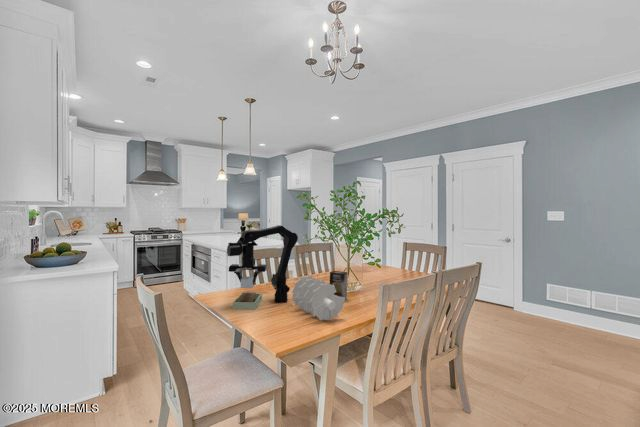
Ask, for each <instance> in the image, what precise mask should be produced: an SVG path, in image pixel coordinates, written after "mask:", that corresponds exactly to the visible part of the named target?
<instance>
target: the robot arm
mask: <svg viewBox="0 0 640 427" xmlns="http://www.w3.org/2000/svg"><path fill="white" fill-rule="evenodd" d="M275 234H277V235H279V236H280V237H283V240H282V243H283V249H282V252H281V256H280V260H279V263H278V268H277V271H276V272H275V273H272V276H271V279H270V282H271V285H272V286H271V287H273V288H274V290H275V293H274V302H275V303H280V304H281V303H282V304H283V303H287V304H288V301H289V299H288V293H289V292H290V289H291V287H289V286H288V285H287V274H286V273H287V270H288V267H289V266H288V265H289V261H290V258H291V254H292V250H293V249H294V247H295V246H296V245H297V242H298V240H299V239H298V238H299V237H298V234H297V233H296V232H292V231H291V230H289V229H288V228H286V227H284V226H283V225H276V226H272V227H266V228H261V229H255V230H254V229H251V230H250V229H248V230H243V231H242V232H241V234H240V237H239V239H238V240H237V242H228V244H227V248H226V254H227V256H228V257H237V256H241V255H242V256H241V265H239V264H236V263H235V264H234V263H232V264H230V265H229V267H228V272H230V273H231V272H232V273H233V274H236V276H237V278H238V279H239V282H240V284H241V278H243V270H244V271H250V270H251V271H254V272H253V277H254V278H253V285H254V284H256V281H257V278H258V276H259V274H261V273H262V272H263V273H265V272H266V271H267V269H268V267H267V264H265V263H264V264H263V263H262V264H258V265H256V259H255V256H254V254H255V252H254V247H257V246H258V243H257V242H256V241H257V240H259V239H260V238H263V237H269V236H271V235H275ZM254 286H255V285H254Z"/></svg>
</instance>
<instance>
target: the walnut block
mask: <svg viewBox="0 0 640 427" xmlns="http://www.w3.org/2000/svg"><path fill="white" fill-rule="evenodd" d="M241 293H242V294H241ZM241 293H240V294H241V295H240V294H239V295H240V296H239V295H238V296H239V302H255V301H256V293H257V292H256V293H247V292H241Z"/></svg>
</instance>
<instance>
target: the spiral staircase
mask: <svg viewBox="0 0 640 427" xmlns="http://www.w3.org/2000/svg"><path fill="white" fill-rule="evenodd" d="M335 292H336V289H335V286H334V285H331V284H330V282H328V281H327V282H326V281H324V280H323V279H320V278H319V279H316V278H315V277H314V276H313V277H312V276H310V275H309V274H307V275H306V276H300V278H299V279H298V280H297V281H295V282H294V287H293V288H292V290H291V293H292V302H294V306H298V308H299V309H301V311H303V310H304V311H305V312H306V313H308V314H310V315H311V316H312V317H316V318H317V319H319V321H331V320H332V319H333V318H336V317H338V315H339V314H340V312H341V311H342V310H343V308H344V304H345V302H346V300H345V298H344V297H338V296H337V295H334V293H335Z"/></svg>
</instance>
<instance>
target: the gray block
mask: <svg viewBox="0 0 640 427" xmlns="http://www.w3.org/2000/svg"><path fill="white" fill-rule="evenodd" d="M253 278H254V276H242V278H241V283H240V289H254V287H255V284H256V283H255V284H254V285H253Z"/></svg>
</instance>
